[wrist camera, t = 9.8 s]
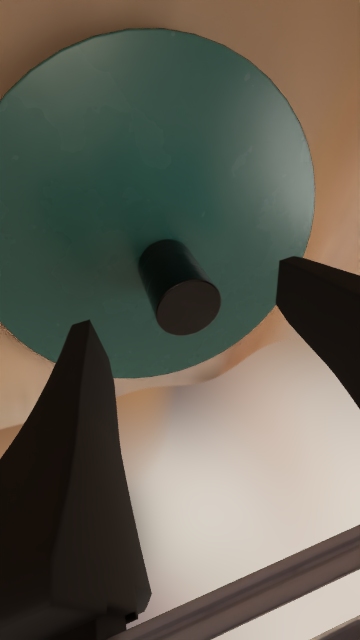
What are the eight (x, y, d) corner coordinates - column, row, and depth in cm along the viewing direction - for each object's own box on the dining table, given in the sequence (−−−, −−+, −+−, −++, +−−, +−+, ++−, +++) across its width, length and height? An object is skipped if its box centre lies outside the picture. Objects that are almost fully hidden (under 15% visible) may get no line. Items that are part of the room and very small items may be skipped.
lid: (350, 47, 11) (479, 30, 8) (265, 340, 21) (304, 391, 17) (-142, 11, 7) (-329, -56, 4) (36, 388, 17) (29, 465, 14)
